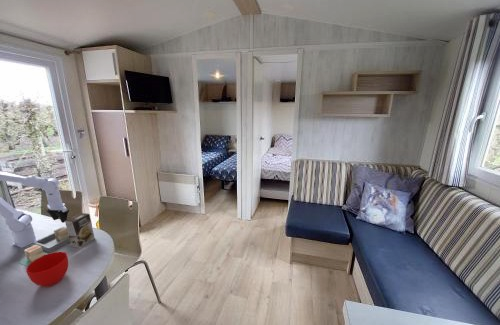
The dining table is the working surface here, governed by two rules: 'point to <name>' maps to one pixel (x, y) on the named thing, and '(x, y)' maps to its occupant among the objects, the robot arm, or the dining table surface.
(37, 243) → the parts bin
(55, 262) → the red mixing bowl
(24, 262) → the teal mat
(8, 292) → the dining table surface
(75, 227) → the coffee box
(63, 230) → the plain block
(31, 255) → the labelled block
